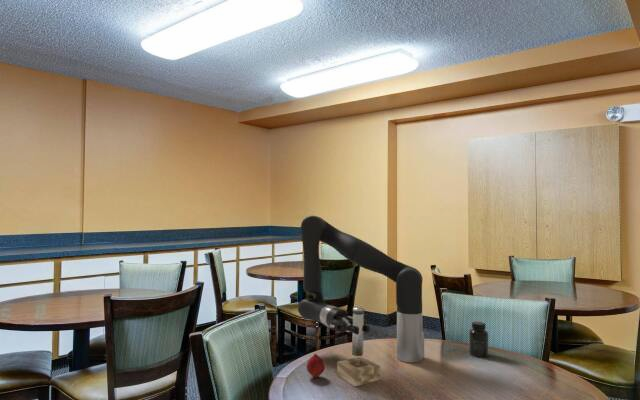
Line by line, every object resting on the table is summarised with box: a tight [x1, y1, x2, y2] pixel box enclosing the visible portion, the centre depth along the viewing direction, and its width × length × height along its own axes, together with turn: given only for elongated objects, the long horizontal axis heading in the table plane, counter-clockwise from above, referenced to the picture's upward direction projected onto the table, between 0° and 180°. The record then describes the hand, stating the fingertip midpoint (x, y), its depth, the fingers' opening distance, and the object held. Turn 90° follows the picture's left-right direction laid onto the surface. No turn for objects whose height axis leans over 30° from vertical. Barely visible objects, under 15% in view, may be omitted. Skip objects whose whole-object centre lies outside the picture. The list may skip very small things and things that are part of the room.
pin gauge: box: [351, 306, 365, 357], centre depth 136 cm, size 4×4×15 cm
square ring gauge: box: [336, 356, 381, 387], centre depth 135 cm, size 10×10×4 cm
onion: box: [306, 352, 325, 379], centre depth 135 cm, size 6×6×8 cm
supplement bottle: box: [468, 321, 489, 358], centre depth 158 cm, size 7×7×12 cm
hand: (363, 330), depth 133 cm, fingers closed on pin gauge, 3 cm apart
